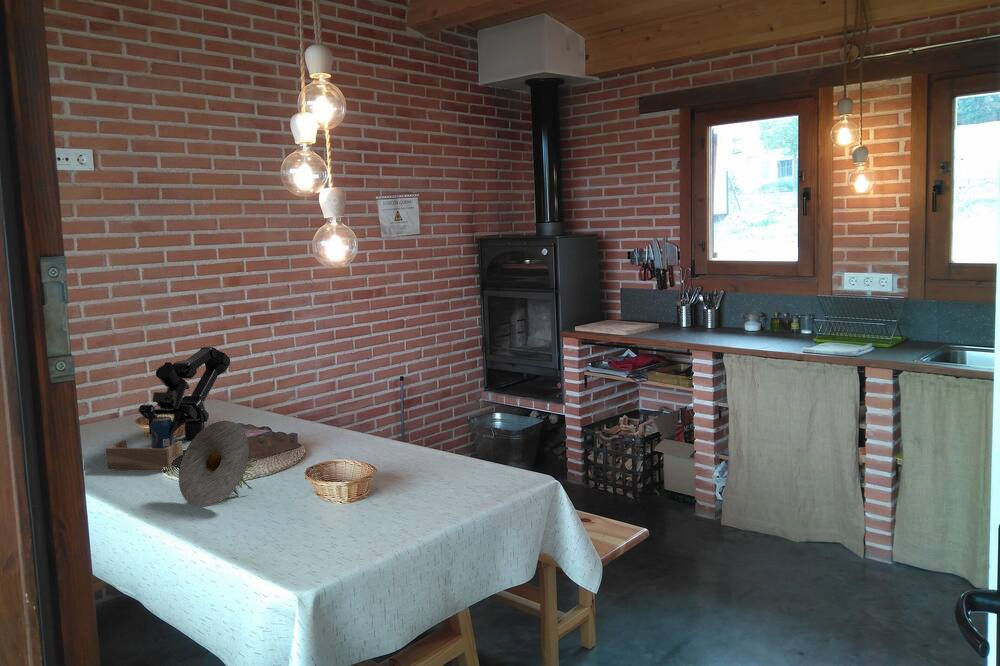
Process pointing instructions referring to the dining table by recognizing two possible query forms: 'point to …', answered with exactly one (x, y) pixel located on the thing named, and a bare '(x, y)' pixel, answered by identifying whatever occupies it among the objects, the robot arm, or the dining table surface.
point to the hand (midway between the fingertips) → (160, 434)
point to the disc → (214, 464)
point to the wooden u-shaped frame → (141, 457)
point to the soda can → (161, 432)
